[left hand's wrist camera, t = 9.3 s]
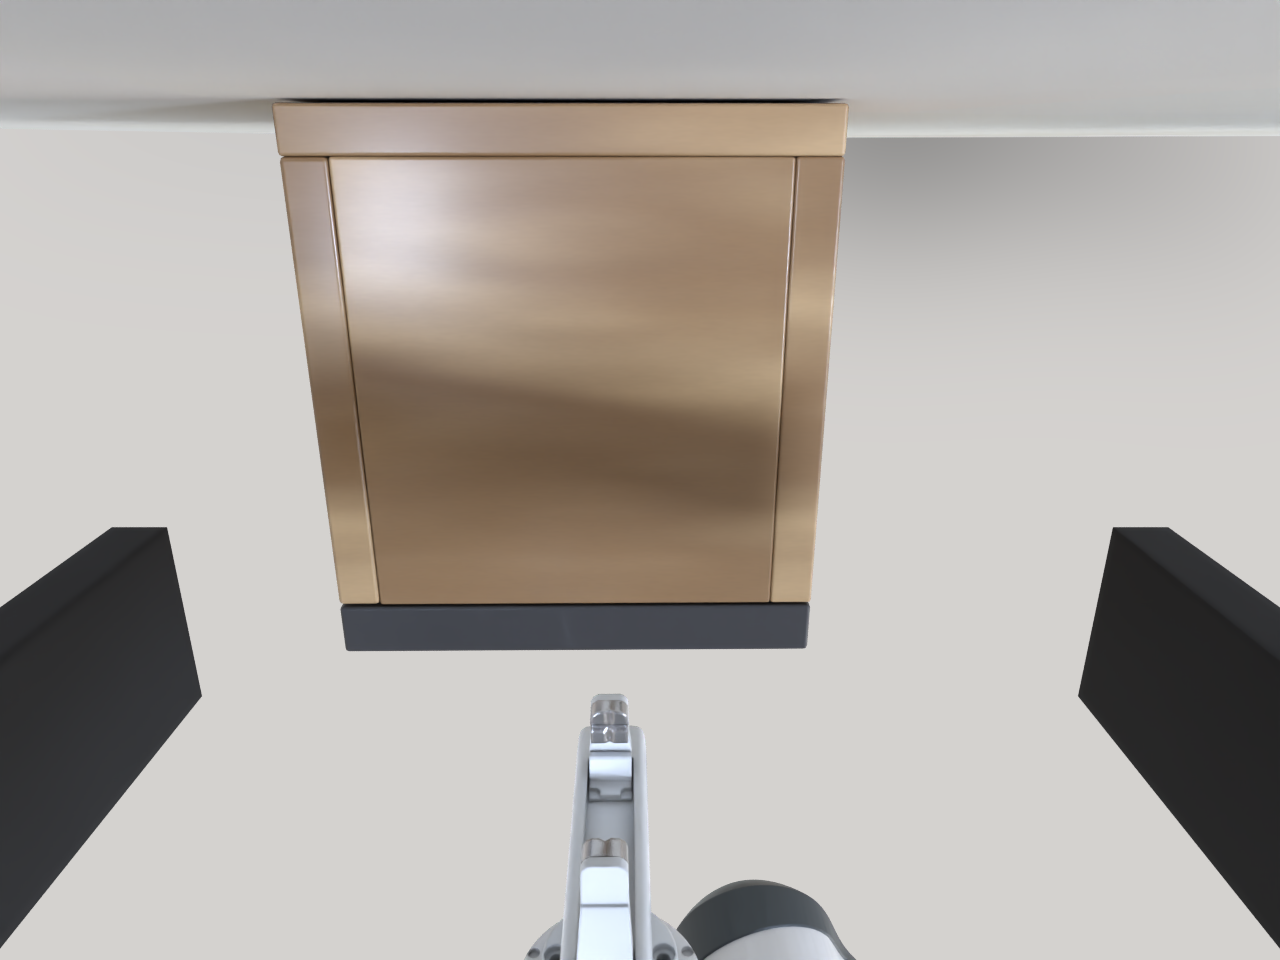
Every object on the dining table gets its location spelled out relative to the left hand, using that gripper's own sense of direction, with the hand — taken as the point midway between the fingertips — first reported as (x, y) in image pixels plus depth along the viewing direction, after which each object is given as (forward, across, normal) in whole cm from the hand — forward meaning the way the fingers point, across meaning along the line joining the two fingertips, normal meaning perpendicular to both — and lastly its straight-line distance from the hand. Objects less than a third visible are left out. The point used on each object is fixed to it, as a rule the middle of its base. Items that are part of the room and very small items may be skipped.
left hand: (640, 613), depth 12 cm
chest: (+12, +1, -7) cm, 14 cm away
